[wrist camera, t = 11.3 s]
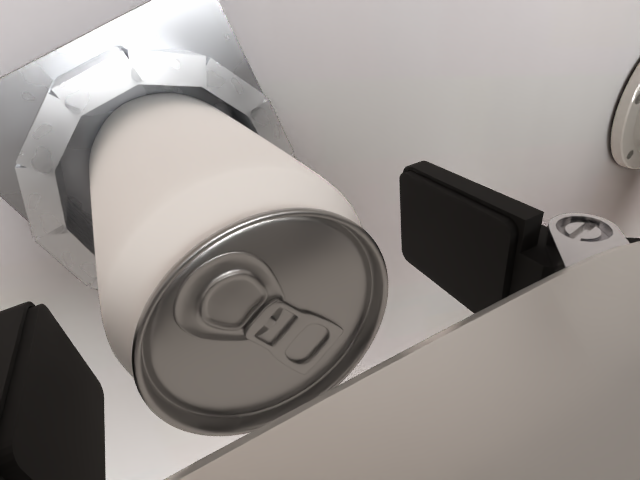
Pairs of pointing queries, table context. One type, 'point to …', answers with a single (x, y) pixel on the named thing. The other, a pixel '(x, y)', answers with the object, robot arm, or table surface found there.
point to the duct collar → (103, 99)
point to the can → (225, 267)
